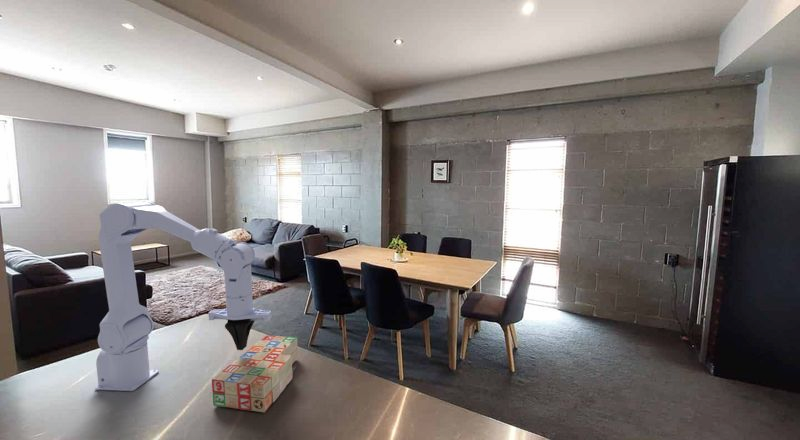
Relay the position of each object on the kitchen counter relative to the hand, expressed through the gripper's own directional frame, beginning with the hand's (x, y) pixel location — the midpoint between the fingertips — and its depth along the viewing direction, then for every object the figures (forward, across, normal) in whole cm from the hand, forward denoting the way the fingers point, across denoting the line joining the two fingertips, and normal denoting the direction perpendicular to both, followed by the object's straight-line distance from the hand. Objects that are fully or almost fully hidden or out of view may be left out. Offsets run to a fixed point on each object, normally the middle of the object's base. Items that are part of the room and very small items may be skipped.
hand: (241, 348), depth 79 cm
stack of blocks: (+5, 0, 0) cm, 5 cm away
